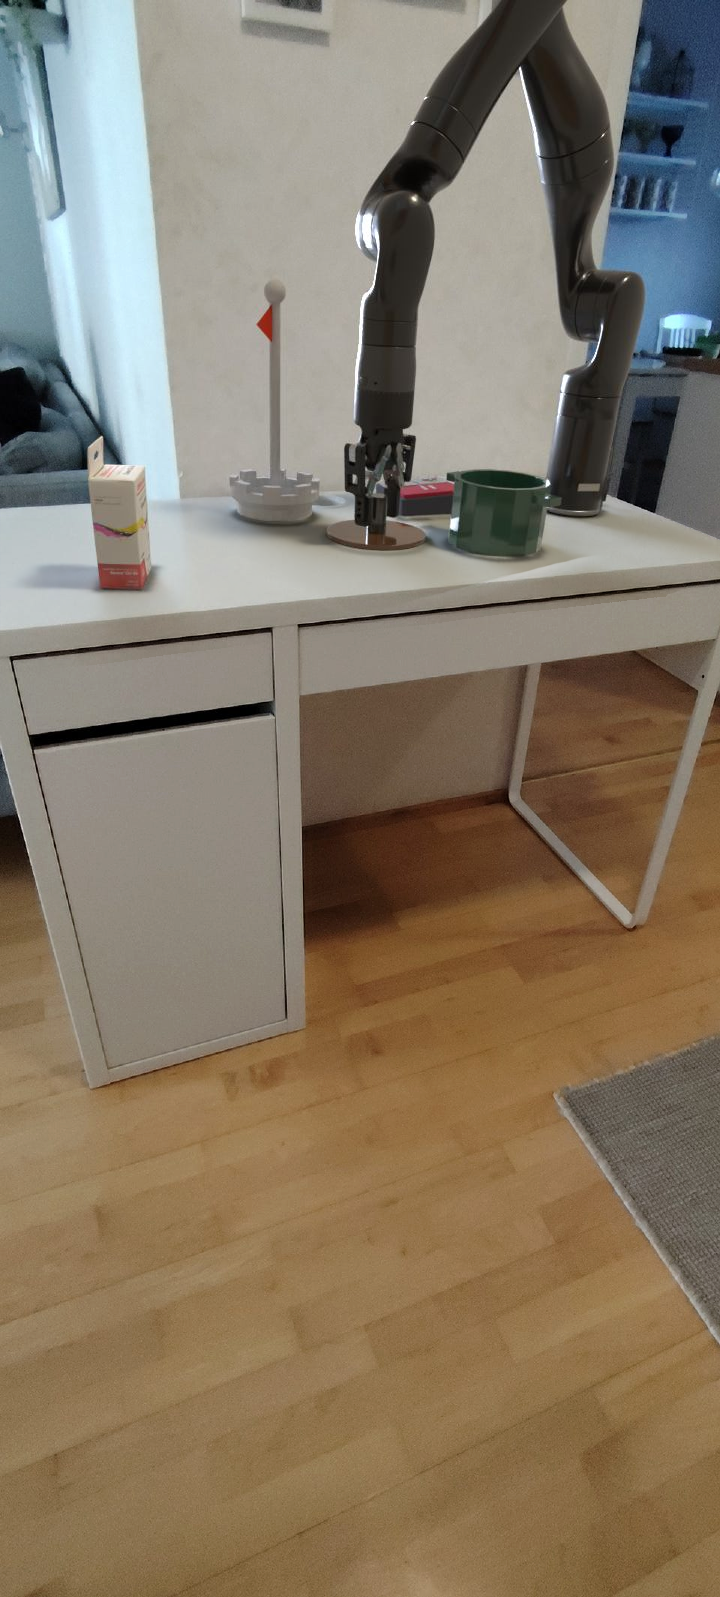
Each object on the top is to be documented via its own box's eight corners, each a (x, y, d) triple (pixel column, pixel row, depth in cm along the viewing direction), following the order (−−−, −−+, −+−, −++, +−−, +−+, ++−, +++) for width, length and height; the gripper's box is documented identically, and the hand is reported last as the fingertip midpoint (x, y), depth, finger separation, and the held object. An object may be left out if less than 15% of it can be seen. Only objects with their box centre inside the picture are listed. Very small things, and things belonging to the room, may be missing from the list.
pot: (475, 526, 125) (483, 462, 121) (574, 556, 114) (586, 487, 110) (415, 538, 118) (421, 470, 113) (514, 571, 107) (525, 498, 102)
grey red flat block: (375, 478, 133) (460, 471, 138) (374, 506, 135) (458, 498, 140) (403, 494, 124) (492, 486, 129) (402, 524, 127) (490, 514, 131)
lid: (379, 523, 124) (381, 480, 121) (445, 545, 116) (450, 500, 113) (306, 535, 116) (307, 490, 113) (371, 560, 108) (374, 512, 105)
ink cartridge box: (144, 590, 94) (132, 450, 86) (99, 589, 93) (82, 448, 86) (154, 567, 101) (143, 435, 93) (111, 566, 101) (97, 434, 93)
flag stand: (255, 500, 132) (252, 276, 116) (332, 512, 128) (339, 282, 112) (214, 518, 122) (204, 274, 106) (296, 531, 118) (299, 280, 102)
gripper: (379, 392, 99) (371, 536, 108) (438, 385, 109) (426, 516, 118) (327, 385, 102) (323, 525, 111) (390, 378, 113) (382, 507, 122)
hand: (376, 520), depth 115 cm, fingers open, 6 cm apart
